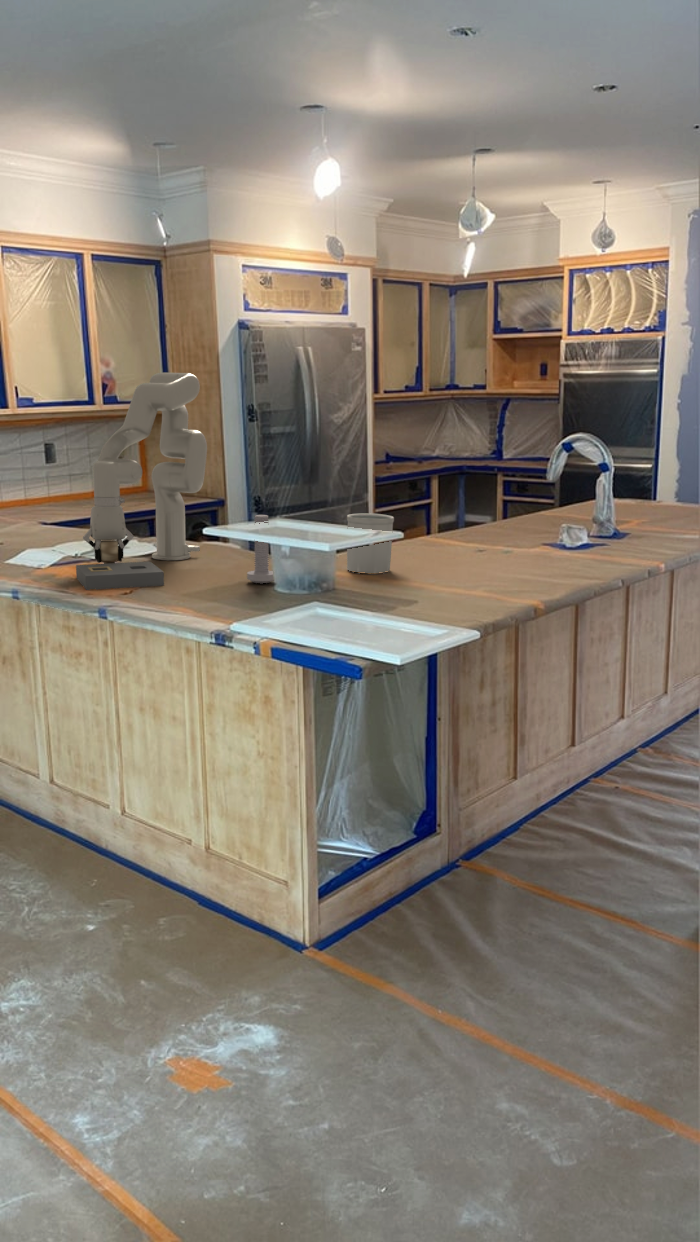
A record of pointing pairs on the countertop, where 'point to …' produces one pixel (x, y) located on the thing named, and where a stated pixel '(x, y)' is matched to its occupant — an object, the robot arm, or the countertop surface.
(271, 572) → the screw
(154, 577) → the seat block
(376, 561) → the utensil holder
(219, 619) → the countertop surface
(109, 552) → the peg
